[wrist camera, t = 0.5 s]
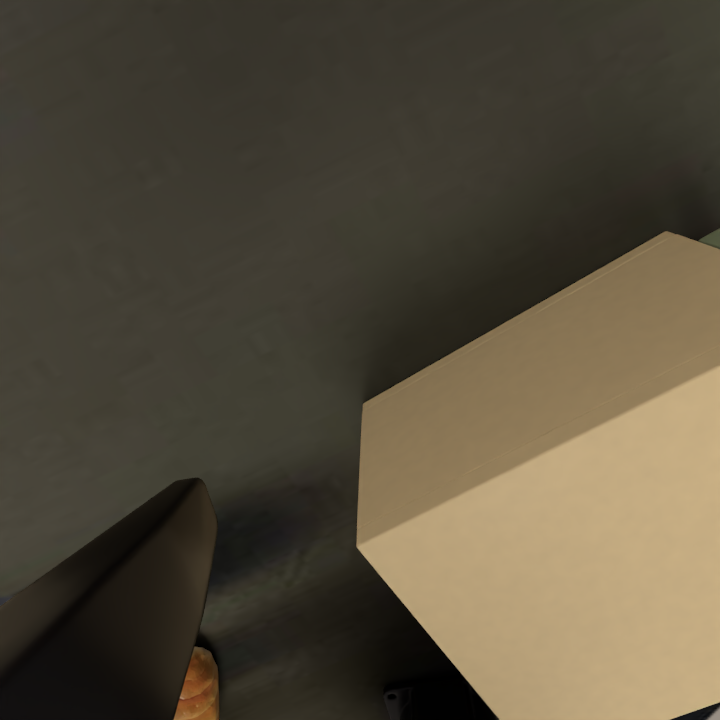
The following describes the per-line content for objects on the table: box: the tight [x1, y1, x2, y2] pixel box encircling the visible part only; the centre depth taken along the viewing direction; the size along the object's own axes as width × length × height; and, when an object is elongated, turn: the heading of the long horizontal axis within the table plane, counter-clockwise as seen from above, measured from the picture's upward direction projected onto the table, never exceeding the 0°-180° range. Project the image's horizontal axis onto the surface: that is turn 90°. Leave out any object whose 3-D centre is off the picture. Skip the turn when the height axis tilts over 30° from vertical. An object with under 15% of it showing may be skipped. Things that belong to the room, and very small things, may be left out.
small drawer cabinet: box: [356, 231, 720, 720], centre depth 21 cm, size 14×12×9 cm
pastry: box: [174, 647, 219, 720], centre depth 30 cm, size 9×7×4 cm
